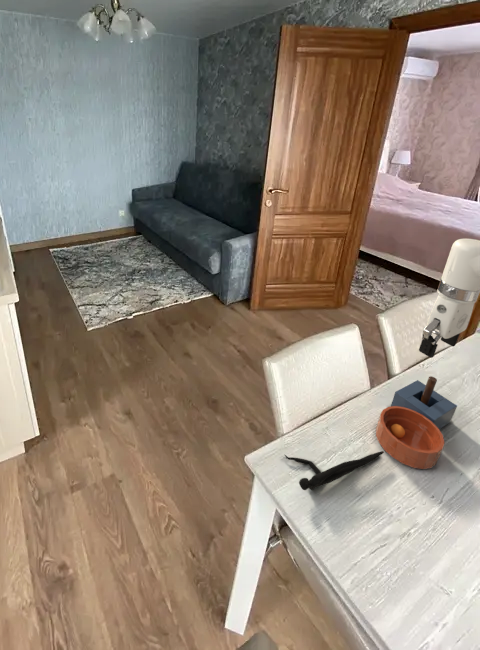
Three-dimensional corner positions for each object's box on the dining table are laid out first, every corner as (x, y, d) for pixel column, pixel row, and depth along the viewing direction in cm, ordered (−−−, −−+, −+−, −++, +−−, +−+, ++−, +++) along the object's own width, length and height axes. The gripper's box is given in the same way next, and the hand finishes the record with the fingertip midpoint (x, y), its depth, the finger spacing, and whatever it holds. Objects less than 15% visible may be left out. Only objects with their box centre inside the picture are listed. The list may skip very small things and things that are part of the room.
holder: (450, 422, 94) (457, 405, 92) (428, 436, 90) (434, 420, 88) (412, 395, 103) (417, 379, 101) (390, 407, 99) (395, 391, 96)
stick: (424, 416, 96) (438, 379, 91) (421, 418, 95) (434, 382, 91) (418, 411, 98) (431, 375, 93) (414, 413, 97) (427, 377, 92)
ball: (405, 437, 89) (409, 429, 88) (398, 442, 88) (401, 433, 87) (394, 428, 92) (397, 419, 91) (386, 432, 90) (389, 424, 89)
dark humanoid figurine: (366, 416, 88) (286, 444, 79) (393, 452, 81) (309, 486, 72) (351, 431, 92) (274, 458, 83) (375, 466, 86) (295, 500, 77)
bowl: (448, 456, 85) (456, 439, 83) (415, 480, 80) (422, 462, 77) (396, 415, 96) (401, 399, 94) (363, 434, 91) (368, 417, 88)
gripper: (455, 306, 75) (432, 368, 82) (495, 289, 82) (471, 347, 89) (420, 291, 81) (401, 349, 88) (459, 276, 89) (440, 331, 95)
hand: (436, 348), depth 88 cm, fingers open, 9 cm apart
